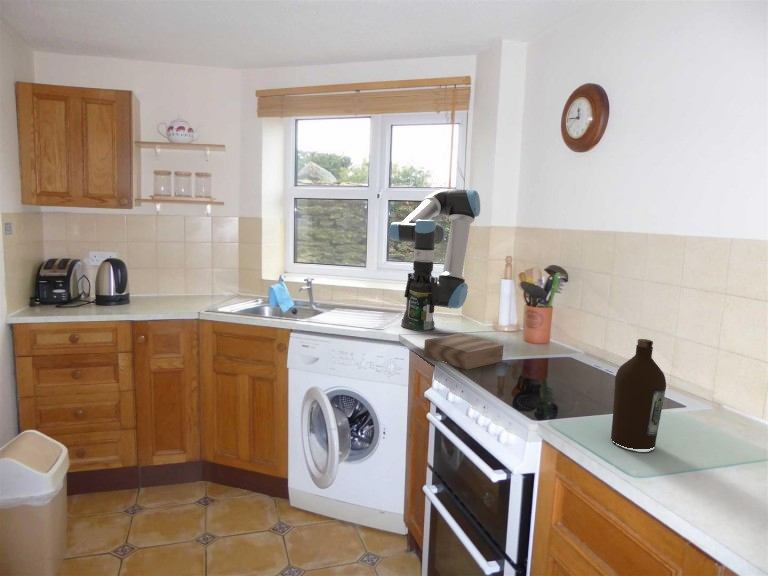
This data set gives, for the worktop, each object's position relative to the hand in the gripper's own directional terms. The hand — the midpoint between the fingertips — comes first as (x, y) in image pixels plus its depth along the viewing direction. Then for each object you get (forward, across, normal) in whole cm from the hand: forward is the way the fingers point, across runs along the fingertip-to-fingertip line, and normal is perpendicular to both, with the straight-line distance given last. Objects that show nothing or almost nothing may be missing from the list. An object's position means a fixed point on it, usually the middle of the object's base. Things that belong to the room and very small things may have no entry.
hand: (420, 318), depth 205 cm
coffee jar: (+4, 0, 0) cm, 4 cm away
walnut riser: (+11, +21, +1) cm, 24 cm away
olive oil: (+10, +92, -22) cm, 95 cm away
